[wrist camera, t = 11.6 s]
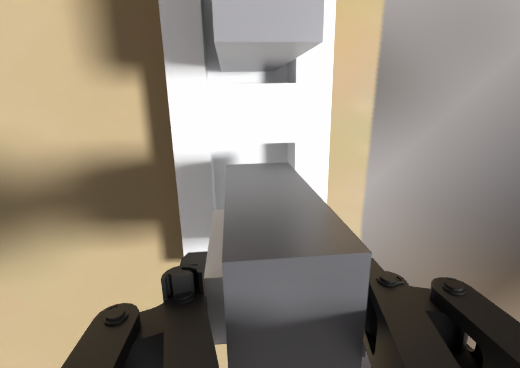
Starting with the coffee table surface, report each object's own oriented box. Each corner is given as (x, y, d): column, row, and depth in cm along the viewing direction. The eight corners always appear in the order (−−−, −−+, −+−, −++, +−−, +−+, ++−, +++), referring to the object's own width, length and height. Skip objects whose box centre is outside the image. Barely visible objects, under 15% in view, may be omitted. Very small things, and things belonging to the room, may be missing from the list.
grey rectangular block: (230, 248, 21) (232, 433, 9) (226, 164, 19) (221, 262, 8) (287, 245, 21) (356, 418, 10) (287, 162, 19) (371, 252, 8)
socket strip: (191, 257, 27) (161, 387, 15) (160, -80, 20) (56, -356, 8) (312, 249, 28) (376, 364, 16) (322, -74, 21) (451, -310, 9)
